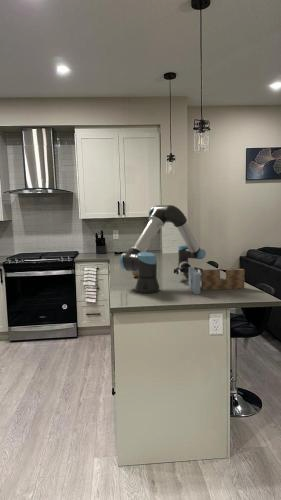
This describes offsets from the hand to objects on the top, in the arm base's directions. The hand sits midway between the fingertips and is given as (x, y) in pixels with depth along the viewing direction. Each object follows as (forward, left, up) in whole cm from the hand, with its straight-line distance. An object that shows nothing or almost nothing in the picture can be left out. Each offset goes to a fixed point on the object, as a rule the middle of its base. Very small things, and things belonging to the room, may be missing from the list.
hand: (190, 273), depth 210 cm
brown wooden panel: (+6, -23, -7) cm, 25 cm away
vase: (-16, +40, -7) cm, 43 cm away
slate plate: (-9, -14, -7) cm, 18 cm away
